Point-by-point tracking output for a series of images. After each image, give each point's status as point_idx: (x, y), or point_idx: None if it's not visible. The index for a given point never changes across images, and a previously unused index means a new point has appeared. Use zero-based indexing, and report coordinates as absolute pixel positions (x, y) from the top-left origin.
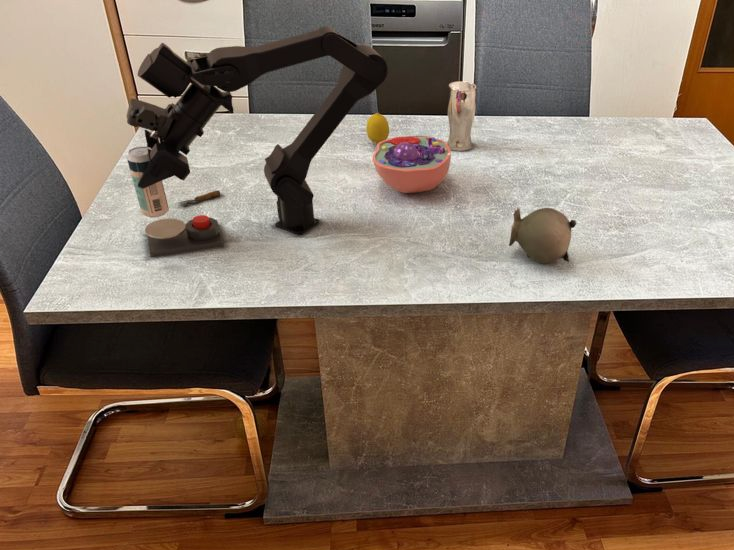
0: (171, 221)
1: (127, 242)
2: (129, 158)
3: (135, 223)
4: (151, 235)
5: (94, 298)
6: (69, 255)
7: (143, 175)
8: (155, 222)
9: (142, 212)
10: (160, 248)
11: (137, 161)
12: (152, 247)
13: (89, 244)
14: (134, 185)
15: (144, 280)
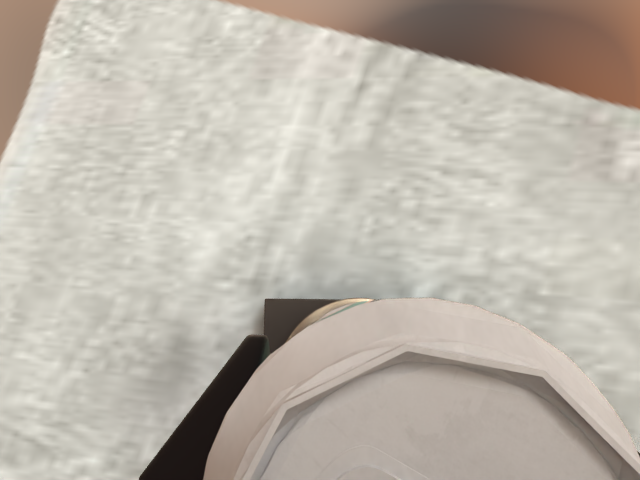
0: None
1: (406, 227)
2: (330, 338)
3: (552, 262)
4: (306, 320)
5: (76, 118)
6: (368, 46)
7: (174, 432)
8: None
9: (342, 308)
10: (278, 340)
11: (213, 449)
12: (295, 312)
13: (427, 104)
14: (357, 304)
15: (125, 267)
